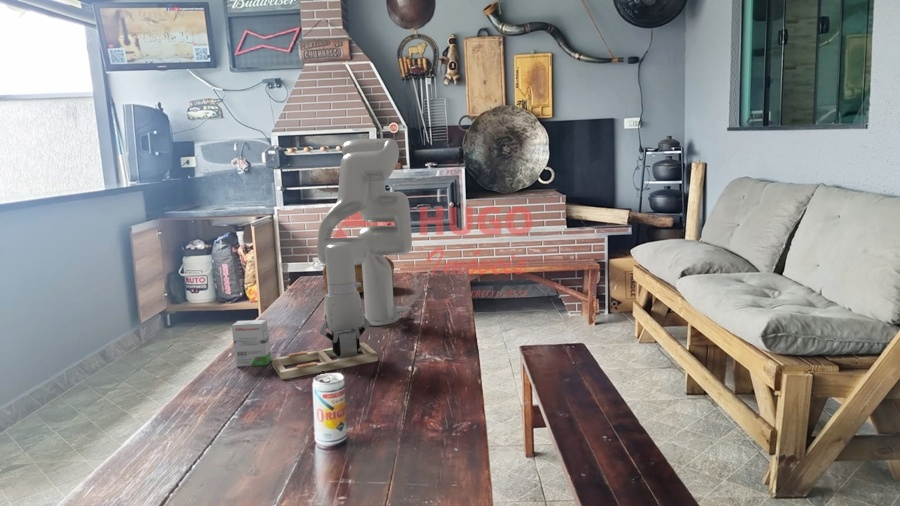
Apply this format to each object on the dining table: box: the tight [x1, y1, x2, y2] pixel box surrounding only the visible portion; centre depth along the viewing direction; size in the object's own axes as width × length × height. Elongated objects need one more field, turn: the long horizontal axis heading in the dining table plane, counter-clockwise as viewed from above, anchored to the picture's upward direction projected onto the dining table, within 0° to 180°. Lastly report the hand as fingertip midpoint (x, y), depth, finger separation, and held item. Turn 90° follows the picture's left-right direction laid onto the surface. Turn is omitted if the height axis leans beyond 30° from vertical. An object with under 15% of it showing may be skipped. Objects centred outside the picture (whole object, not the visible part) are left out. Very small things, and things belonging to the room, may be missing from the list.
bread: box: [322, 255, 395, 294], centre depth 256 cm, size 12×28×14 cm, turn 98°
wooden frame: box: [271, 341, 379, 380], centre depth 174 cm, size 26×12×2 cm, turn 116°
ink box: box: [231, 319, 272, 368], centre depth 176 cm, size 9×5×12 cm, turn 89°
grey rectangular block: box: [336, 329, 358, 360], centre depth 176 cm, size 4×4×8 cm
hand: (346, 352), depth 177 cm, fingers closed on grey rectangular block, 4 cm apart
